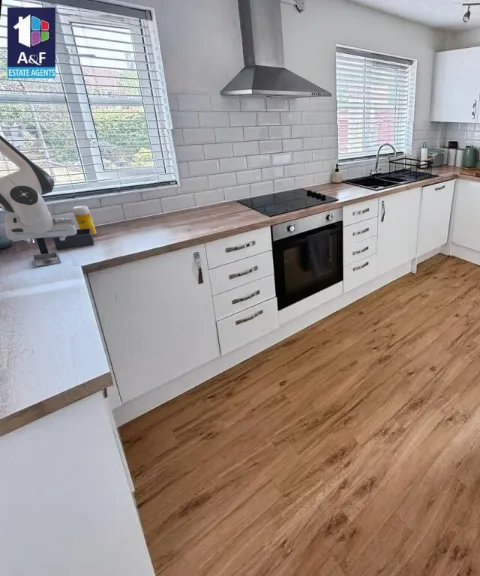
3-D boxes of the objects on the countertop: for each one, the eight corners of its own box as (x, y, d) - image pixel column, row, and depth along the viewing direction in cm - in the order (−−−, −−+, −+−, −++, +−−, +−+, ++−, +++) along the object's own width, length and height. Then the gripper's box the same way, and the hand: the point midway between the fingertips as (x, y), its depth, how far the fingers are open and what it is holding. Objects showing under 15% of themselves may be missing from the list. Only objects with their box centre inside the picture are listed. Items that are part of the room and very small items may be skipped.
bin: (57, 252, 162) (53, 237, 159) (59, 244, 171) (55, 231, 169) (94, 248, 169) (91, 234, 167) (94, 241, 179) (90, 228, 176)
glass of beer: (80, 236, 186) (70, 207, 179) (94, 233, 190) (84, 204, 183) (85, 239, 183) (74, 209, 176) (99, 235, 187) (89, 206, 180)
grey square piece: (61, 262, 149) (54, 240, 146) (34, 266, 144) (26, 243, 140) (58, 255, 158) (51, 234, 154) (33, 258, 153) (25, 236, 149)
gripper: (71, 211, 143) (78, 231, 154) (-2, 215, 132) (11, 236, 143) (74, 225, 142) (81, 243, 153) (0, 230, 130) (14, 250, 141)
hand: (47, 240), depth 148 cm, fingers open, 8 cm apart
